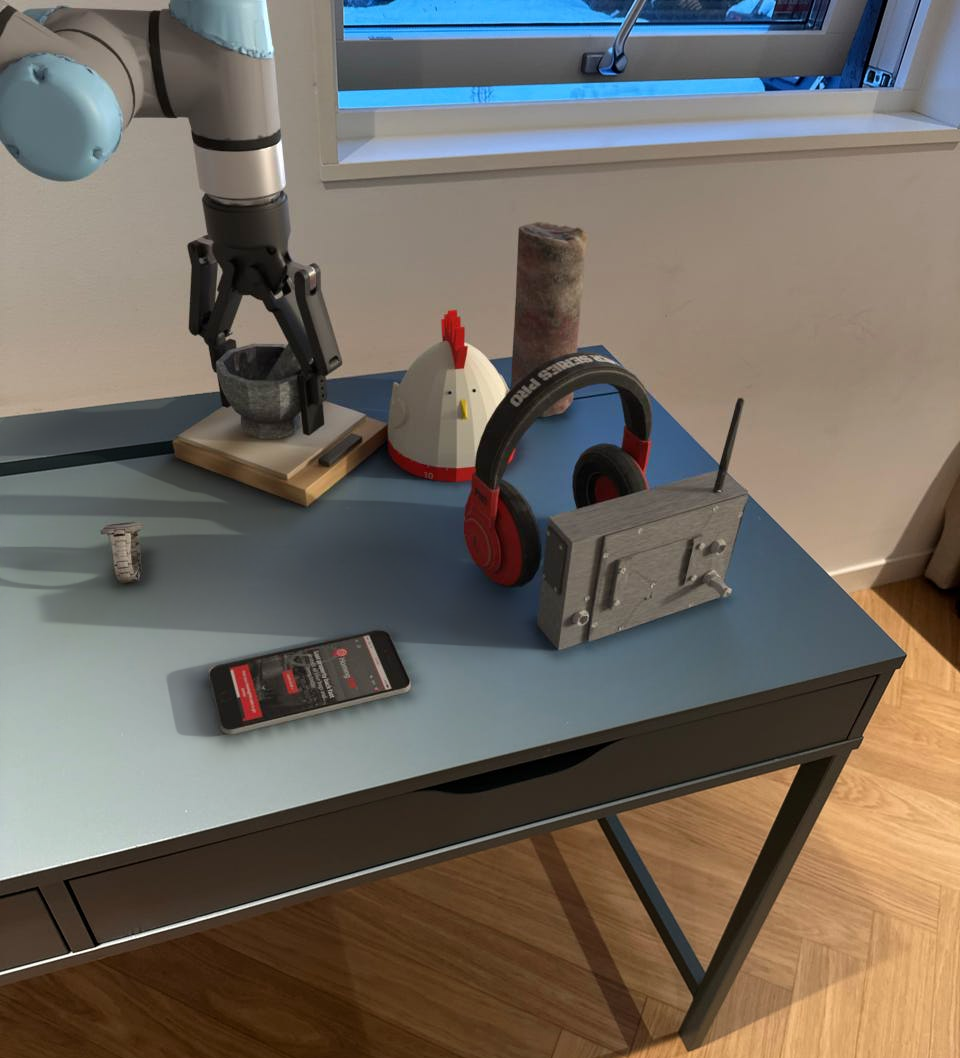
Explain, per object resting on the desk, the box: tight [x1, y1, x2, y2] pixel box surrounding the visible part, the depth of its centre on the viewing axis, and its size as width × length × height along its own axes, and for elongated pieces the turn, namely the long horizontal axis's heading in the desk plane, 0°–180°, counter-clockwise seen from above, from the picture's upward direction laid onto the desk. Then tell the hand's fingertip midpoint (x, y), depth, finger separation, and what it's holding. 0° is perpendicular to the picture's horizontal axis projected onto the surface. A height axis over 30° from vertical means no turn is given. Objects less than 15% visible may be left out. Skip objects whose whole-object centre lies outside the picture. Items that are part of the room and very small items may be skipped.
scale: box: [172, 400, 388, 507], centre depth 100 cm, size 17×15×3 cm
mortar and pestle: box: [216, 342, 313, 439], centre depth 95 cm, size 11×9×12 cm
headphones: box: [462, 351, 653, 589], centre depth 82 cm, size 18×10×20 cm, turn 122°
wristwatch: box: [100, 521, 143, 584], centre depth 83 cm, size 4×6×5 cm, turn 12°
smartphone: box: [208, 629, 412, 735], centre depth 75 cm, size 7×1×15 cm
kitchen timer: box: [387, 309, 516, 483], centre depth 97 cm, size 14×14×15 cm
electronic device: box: [536, 397, 749, 651], centre depth 76 cm, size 17×7×20 cm, turn 117°
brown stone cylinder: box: [510, 221, 588, 418], centre depth 103 cm, size 8×7×20 cm
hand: (272, 415), depth 98 cm, fingers closed on mortar and pestle, 10 cm apart
